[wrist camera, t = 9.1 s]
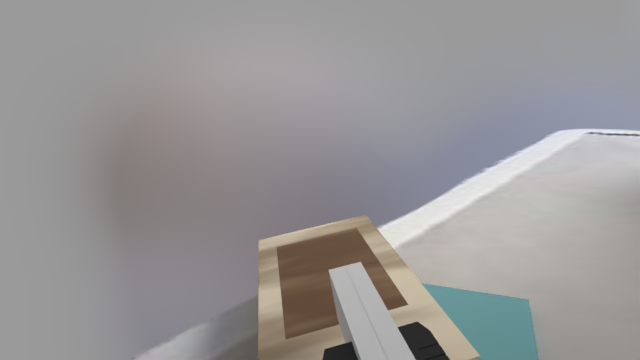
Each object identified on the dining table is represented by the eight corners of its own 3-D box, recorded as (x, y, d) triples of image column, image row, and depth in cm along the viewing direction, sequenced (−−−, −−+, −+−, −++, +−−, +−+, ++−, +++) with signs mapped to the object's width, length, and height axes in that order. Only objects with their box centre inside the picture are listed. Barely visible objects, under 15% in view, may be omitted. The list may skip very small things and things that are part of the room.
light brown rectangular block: (277, 486, 14) (268, 277, 29) (480, 417, 15) (370, 251, 30) (256, 425, 13) (258, 240, 28) (480, 355, 14) (365, 214, 29)
